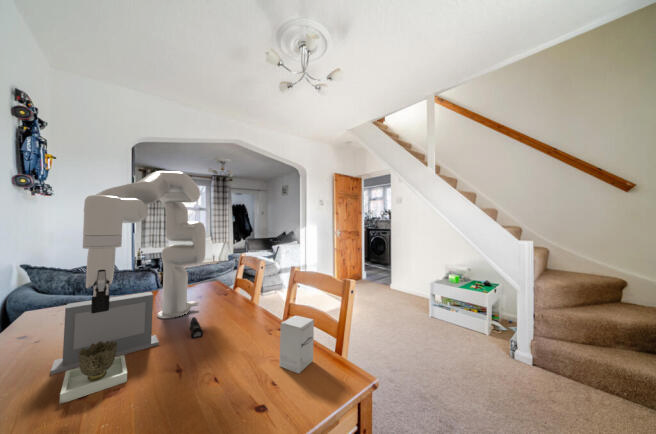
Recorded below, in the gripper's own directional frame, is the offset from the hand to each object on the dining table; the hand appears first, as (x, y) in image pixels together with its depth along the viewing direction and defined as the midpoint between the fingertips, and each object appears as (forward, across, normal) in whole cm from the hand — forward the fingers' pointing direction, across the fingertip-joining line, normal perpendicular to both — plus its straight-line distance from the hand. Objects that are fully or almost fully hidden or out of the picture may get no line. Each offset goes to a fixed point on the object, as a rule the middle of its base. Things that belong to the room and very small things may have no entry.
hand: (100, 306), depth 63 cm
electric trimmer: (+20, -15, +27) cm, 37 cm away
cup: (+18, 0, 0) cm, 19 cm away
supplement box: (+19, +30, +43) cm, 55 cm away
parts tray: (+19, 0, 0) cm, 19 cm away
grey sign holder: (+19, -14, +3) cm, 24 cm away
